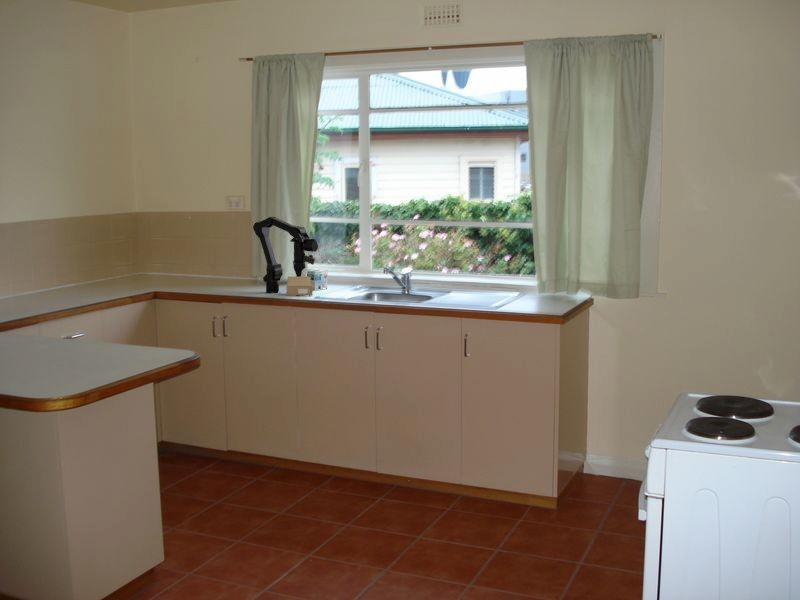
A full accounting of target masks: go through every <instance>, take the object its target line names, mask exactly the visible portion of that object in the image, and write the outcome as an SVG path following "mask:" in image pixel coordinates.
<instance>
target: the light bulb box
mask: <svg viewBox="0 0 800 600" xmlns="http://www.w3.org/2000/svg"><path fill="white" fill-rule="evenodd" d="M306 277H310V282H311V284H312V291H314V290H316V291H319V290H318V289H323V288H327V289H328V270H324V269H312V270H307V271H306ZM323 290H324V289H323Z"/></svg>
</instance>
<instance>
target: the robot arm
mask: <svg viewBox="0 0 800 600" xmlns="http://www.w3.org/2000/svg"><path fill="white" fill-rule="evenodd" d="M272 227H276V228H278V229H280V230H283V231H284V232H287V233H288V234H289V235H290V236H291V237H292V238H291V239H290V242H291V243H293V261H292V265H293V270H294V272H295V276H296V277H302V273H303V270H304V269H306V263H308V264H310V265H314V264H315V261H316V258H315V257H314V256H313V255H312V254H309V255H306V252H313V253H314V252H317V251H318V248H319V244H318V242H317V239H316V238H311V237H310V235H309V234H308V232H307V230H306V228H305V227H304V226H301V225H295V224H291V223H289V222H286V221H284V220H282V219H279V218H277V217H276V216H269V217H267V218H265V219H263V220H261V221H257V222H256V221H255V222H254V224H253V226H252V230H253V231H254V234H255V235H256V237H258V238H259V241H260V244H261V248H262V252H263V255H264V258H265V261H266V273H265V275H264V276H263V277H262V278H263V279H262V280H263V282H264V283H265V294H279V291H280V285H279V284H280V283H279V281H281V278H282V276H283V275H284V274H283V273H284V272H283V271H284V270H283V267H282V264H281V263H278V262H277V260H276V258H275V253H274V250H273V248H272V244H271V241H270V238H269V236H270V228H272Z"/></svg>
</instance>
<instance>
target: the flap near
mask: <svg viewBox="0 0 800 600" xmlns="http://www.w3.org/2000/svg"><path fill="white" fill-rule="evenodd" d="M287 284H288V286H311V282H310V277H307V276H301V277H297V276H287Z"/></svg>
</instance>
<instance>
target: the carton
mask: <svg viewBox="0 0 800 600" xmlns="http://www.w3.org/2000/svg"><path fill="white" fill-rule="evenodd" d="M296 295H300V296H299V297H304V296H303V295H311V296H312V295H313V290H312V284H311V286H288V283H286V296H287V297H297V296H296Z"/></svg>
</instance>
